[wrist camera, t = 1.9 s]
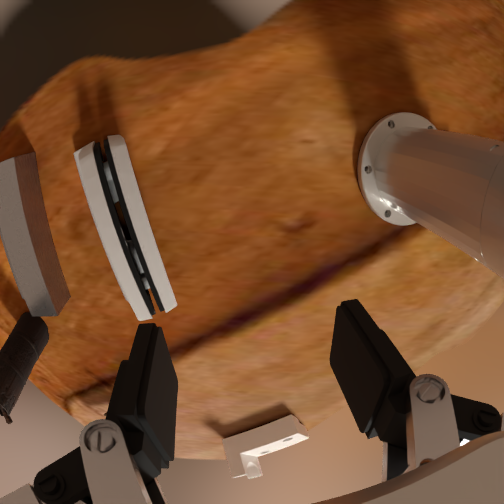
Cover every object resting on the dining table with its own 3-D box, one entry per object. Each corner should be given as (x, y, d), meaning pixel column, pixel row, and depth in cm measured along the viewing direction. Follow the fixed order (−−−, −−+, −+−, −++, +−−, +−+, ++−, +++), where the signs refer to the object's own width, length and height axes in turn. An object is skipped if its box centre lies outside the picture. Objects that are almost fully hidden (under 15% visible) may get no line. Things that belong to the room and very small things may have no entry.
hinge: (74, 149, 23) (56, 145, 15) (118, 133, 25) (121, 121, 17) (126, 296, 30) (136, 348, 22) (164, 281, 32) (187, 327, 24)
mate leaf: (35, 151, 23) (13, 157, 19) (70, 296, 30) (57, 315, 26) (-10, 168, 22) (-31, 175, 18) (26, 299, 29) (12, 316, 25)
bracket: (240, 444, 47) (250, 478, 42) (222, 439, 43) (231, 477, 37) (303, 421, 46) (316, 456, 40) (291, 414, 42) (305, 454, 36)
